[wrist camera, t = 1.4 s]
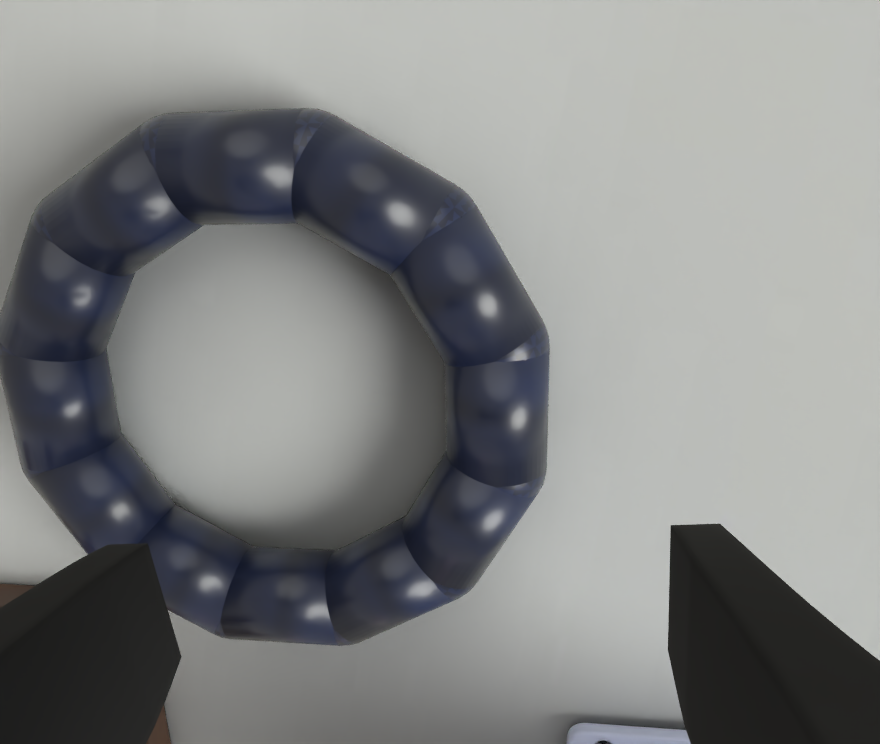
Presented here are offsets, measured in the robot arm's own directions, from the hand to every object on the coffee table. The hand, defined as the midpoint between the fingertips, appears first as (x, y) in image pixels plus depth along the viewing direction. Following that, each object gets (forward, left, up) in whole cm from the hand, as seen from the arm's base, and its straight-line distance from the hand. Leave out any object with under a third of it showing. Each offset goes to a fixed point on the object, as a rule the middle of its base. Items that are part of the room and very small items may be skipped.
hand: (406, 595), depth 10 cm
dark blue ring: (+5, 0, -7) cm, 9 cm away
